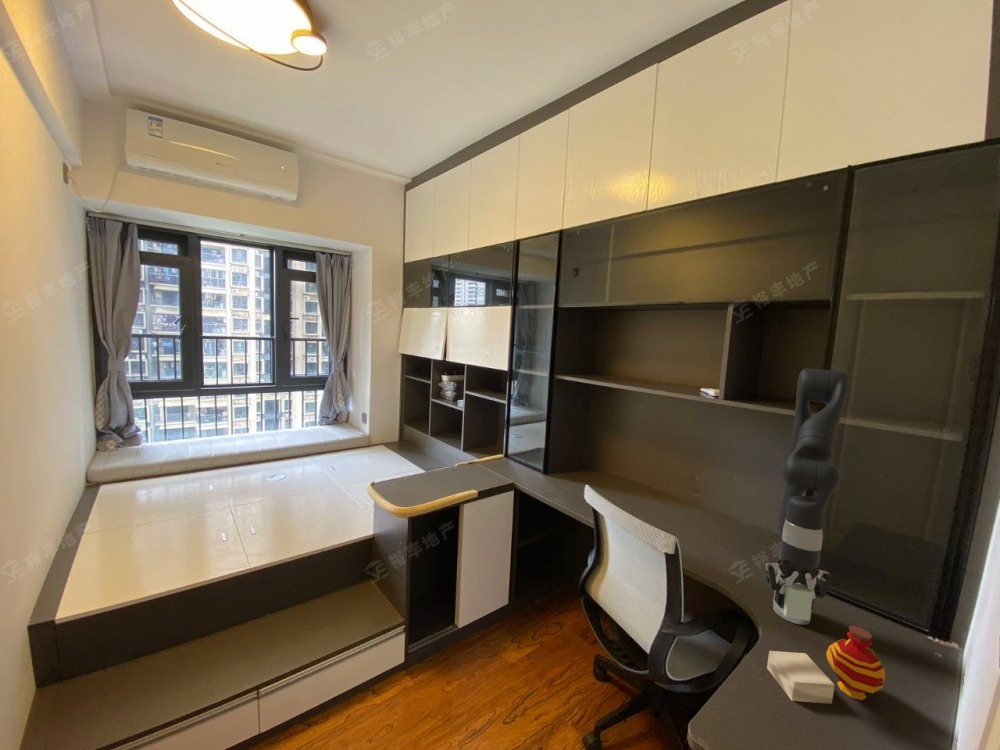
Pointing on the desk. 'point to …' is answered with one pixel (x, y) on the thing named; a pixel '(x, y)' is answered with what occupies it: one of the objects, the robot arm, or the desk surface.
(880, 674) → the potion bottle
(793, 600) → the green block
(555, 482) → the desk surface
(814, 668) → the beech base
